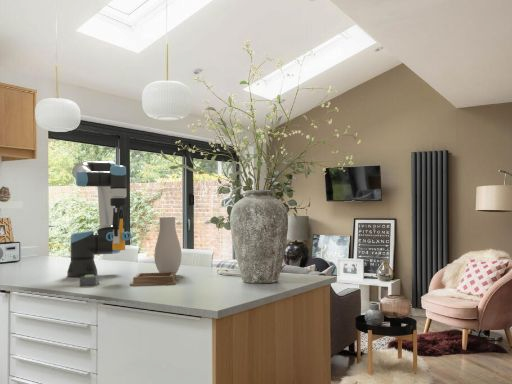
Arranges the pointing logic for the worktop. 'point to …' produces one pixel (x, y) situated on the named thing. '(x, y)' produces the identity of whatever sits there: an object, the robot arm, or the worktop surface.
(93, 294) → the worktop surface
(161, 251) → the vase
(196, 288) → the worktop surface
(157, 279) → the brown wooden tray
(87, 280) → the switch box
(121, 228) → the orange block with rings
